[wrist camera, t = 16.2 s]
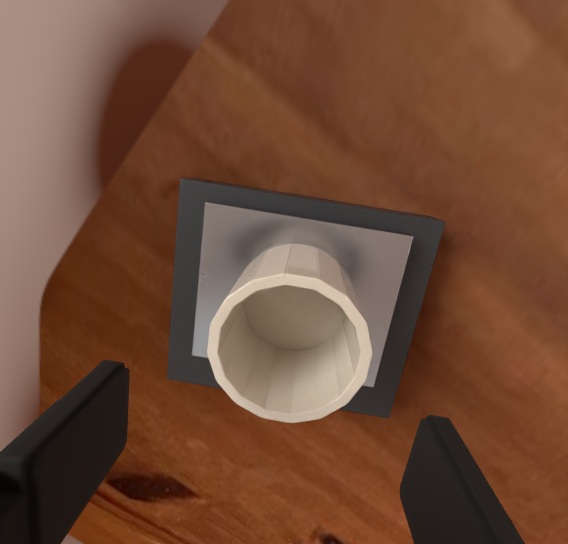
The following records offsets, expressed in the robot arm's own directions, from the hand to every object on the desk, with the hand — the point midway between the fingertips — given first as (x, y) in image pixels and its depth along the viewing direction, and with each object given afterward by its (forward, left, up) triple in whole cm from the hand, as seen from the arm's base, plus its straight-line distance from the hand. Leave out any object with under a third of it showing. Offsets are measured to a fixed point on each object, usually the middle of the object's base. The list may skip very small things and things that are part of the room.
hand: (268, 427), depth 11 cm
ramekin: (0, 0, -11) cm, 11 cm away
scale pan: (0, 0, -12) cm, 12 cm away
